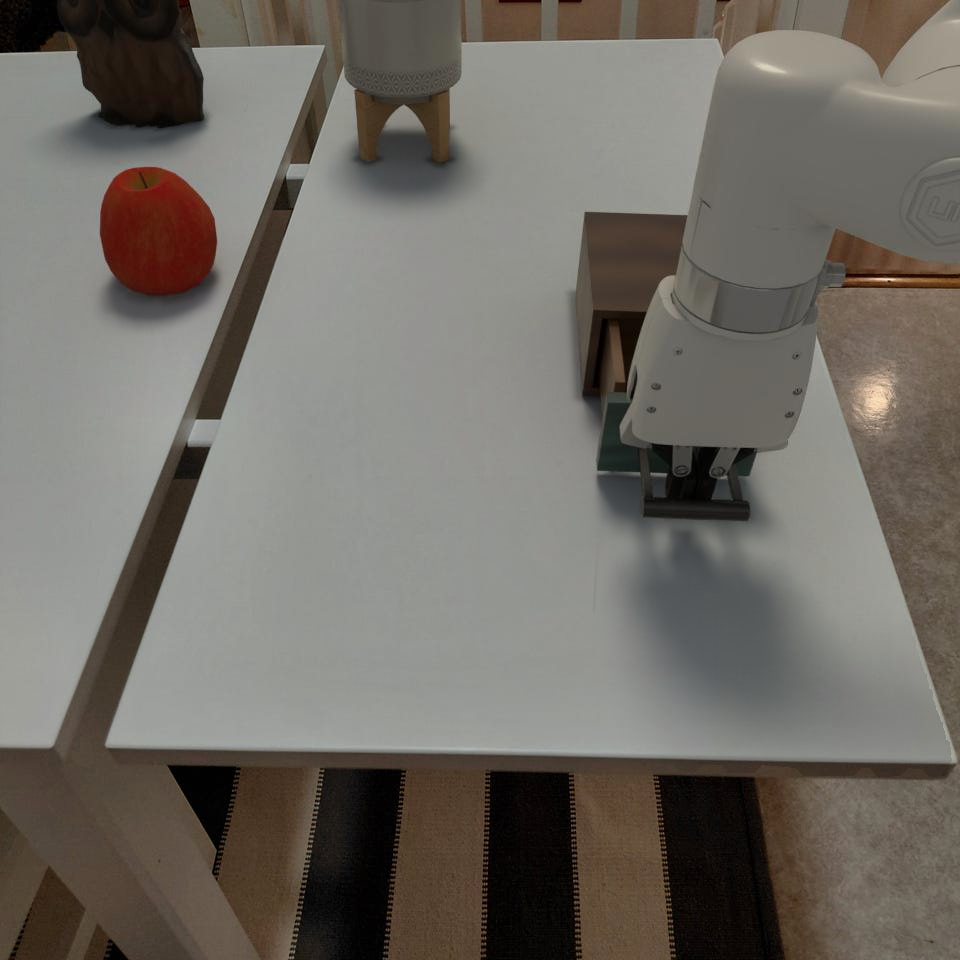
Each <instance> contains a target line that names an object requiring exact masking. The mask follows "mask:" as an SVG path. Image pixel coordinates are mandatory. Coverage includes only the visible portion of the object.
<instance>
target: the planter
mask: <svg viewBox="0 0 960 960" xmlns="http://www.w3.org/2000/svg"><path fill="white" fill-rule="evenodd" d="M337 7H338V8H337V9H338V19H339V29H340V31H339V32H340V40H341V41H340V43H341V52H342V63H343V73H344V74H343V76H344V78H345V81H346V82H347V83H348V84H349V85H350V86H351V87H353V88H354V91H353V92H354V104H355V116H356V126H357V128H356V129H357V140H358V153H359V159H361V160H362V161H364V162H366V163H371V162H373V161H376V160H377V157H378V156H377V155H378V153H377V152H378V151H377V150H378V145H379V139H380V137H381V135H382V131H383V129H384V127H385V125H386V124H387V122H388V120H389V119H390V118H391V116H392V115H393V114H394V113H395V112H396V111H397V110H399V108H401V107H403V106H405V107H407V108H408V110H410V111H411V112H412V113H413V114H414V115H415V116H416V117H417V119H418V120H419V122H420V123H421V125H422V127H423V129H424V131H425V134H426V137H427V139H428V142H429V145H430V150H431V155H432V156H431V157H432V158H431V159H432V160H433V161H434V162H436V163H439V164H442V163H444V162H446V161H449V160H450V128H451V107H450V106H451V99H450V98H451V91H450V90H451V88H452V87H454V86H455V85H457V83H458V82H459V81H460V80H461V77H462V70H463V68H462V67H463V65H462V64H463V63H462V61H463V59H462V58H463V56H462V54H463V52H462V51H463V50H462V49H463V48H462V47H463V37H462V35H463V34H462V32H463V27H462V25H463V22H462V21H463V0H337Z"/></svg>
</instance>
